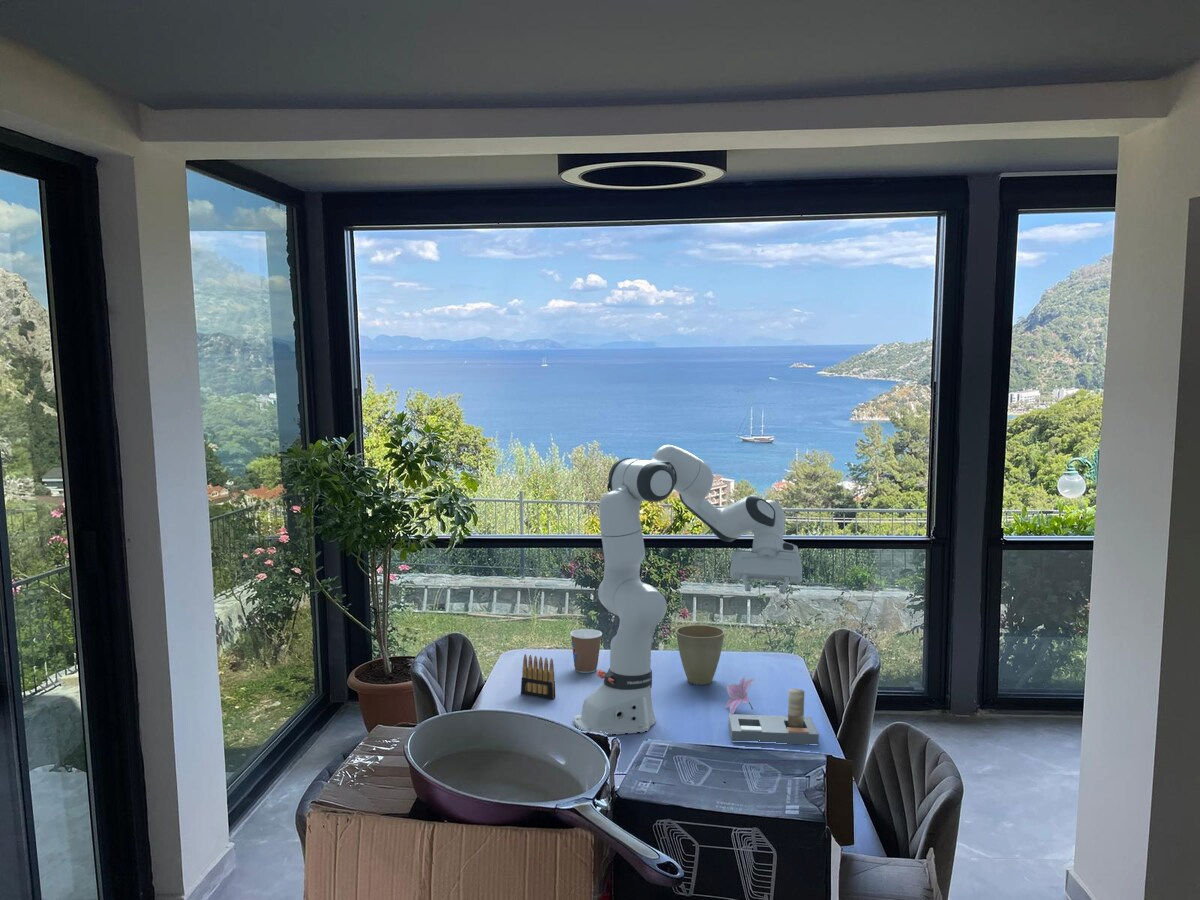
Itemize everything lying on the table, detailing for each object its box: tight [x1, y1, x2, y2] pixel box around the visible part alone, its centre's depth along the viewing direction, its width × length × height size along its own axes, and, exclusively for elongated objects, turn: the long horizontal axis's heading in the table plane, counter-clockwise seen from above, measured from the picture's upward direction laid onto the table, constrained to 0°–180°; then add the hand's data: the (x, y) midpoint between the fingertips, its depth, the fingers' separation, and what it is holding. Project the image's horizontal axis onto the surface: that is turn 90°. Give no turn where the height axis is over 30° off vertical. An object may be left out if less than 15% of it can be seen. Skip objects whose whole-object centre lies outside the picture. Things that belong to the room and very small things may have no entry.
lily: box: [724, 674, 755, 714], centre depth 252 cm, size 12×12×10 cm
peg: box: [787, 688, 805, 728], centre depth 234 cm, size 4×4×12 cm
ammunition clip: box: [520, 653, 556, 701], centre depth 262 cm, size 11×2×12 cm, turn 65°
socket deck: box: [728, 713, 820, 746], centre depth 234 cm, size 22×12×3 cm, turn 86°
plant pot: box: [675, 624, 725, 686], centre depth 277 cm, size 15×15×16 cm
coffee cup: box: [569, 628, 603, 674], centre depth 287 cm, size 10×10×12 cm
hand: (764, 591), depth 249 cm, fingers open, 8 cm apart
